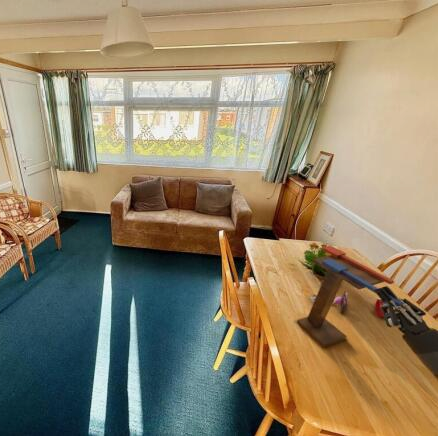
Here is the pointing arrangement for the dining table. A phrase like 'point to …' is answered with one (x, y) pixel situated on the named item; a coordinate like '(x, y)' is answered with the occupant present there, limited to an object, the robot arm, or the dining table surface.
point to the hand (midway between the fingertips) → (380, 288)
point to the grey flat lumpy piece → (313, 298)
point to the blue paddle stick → (353, 277)
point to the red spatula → (355, 263)
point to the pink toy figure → (341, 301)
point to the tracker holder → (379, 307)
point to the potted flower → (310, 256)
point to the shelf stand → (331, 301)
